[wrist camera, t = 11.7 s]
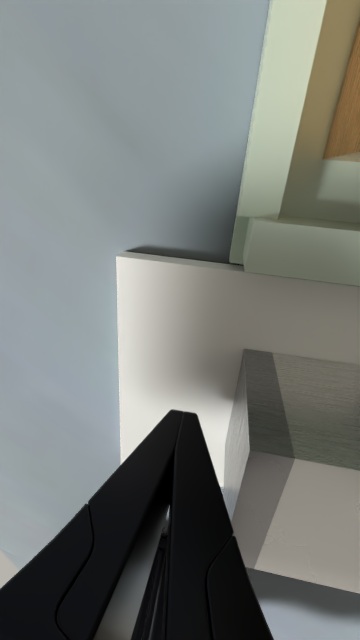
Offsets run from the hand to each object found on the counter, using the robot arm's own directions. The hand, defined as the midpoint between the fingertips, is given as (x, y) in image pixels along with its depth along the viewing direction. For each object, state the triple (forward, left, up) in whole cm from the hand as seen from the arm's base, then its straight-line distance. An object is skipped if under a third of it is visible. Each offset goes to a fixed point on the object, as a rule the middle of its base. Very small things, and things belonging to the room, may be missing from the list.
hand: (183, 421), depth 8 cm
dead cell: (0, -4, -1) cm, 5 cm away
